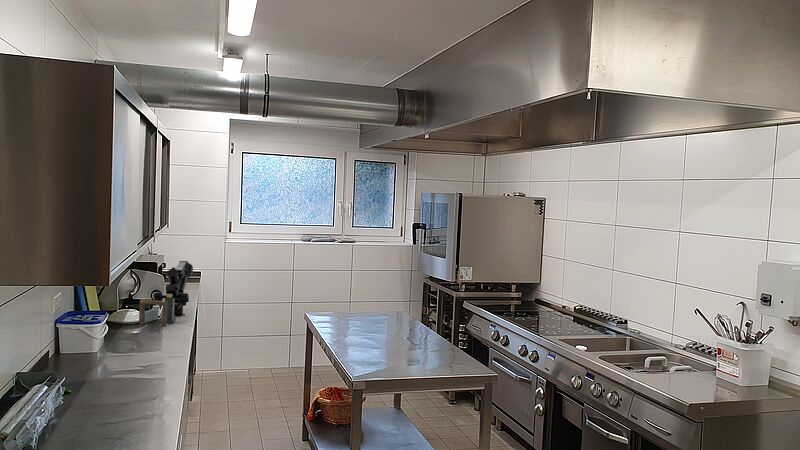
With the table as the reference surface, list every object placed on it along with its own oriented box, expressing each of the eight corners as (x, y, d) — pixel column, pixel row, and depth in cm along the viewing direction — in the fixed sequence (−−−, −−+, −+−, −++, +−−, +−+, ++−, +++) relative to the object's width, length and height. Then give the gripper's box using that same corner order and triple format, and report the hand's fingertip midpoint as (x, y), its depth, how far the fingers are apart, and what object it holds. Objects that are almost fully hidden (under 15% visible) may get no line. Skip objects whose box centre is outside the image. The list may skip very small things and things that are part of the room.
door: (144, 322, 337) (144, 312, 337) (142, 322, 338) (142, 312, 337) (157, 318, 349) (158, 308, 349) (156, 318, 349) (156, 308, 349)
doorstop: (164, 321, 345) (165, 292, 344) (175, 321, 345) (176, 292, 345) (162, 323, 339) (162, 294, 338) (173, 323, 339) (174, 294, 339)
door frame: (141, 323, 337) (142, 299, 336) (166, 326, 333) (167, 301, 333) (139, 324, 335) (139, 299, 334) (164, 326, 331) (165, 302, 331)
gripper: (154, 278, 343) (148, 300, 333) (188, 279, 346) (183, 301, 336) (157, 289, 352) (152, 312, 341) (191, 290, 354) (186, 312, 344)
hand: (168, 309), depth 340 cm, fingers open, 9 cm apart
